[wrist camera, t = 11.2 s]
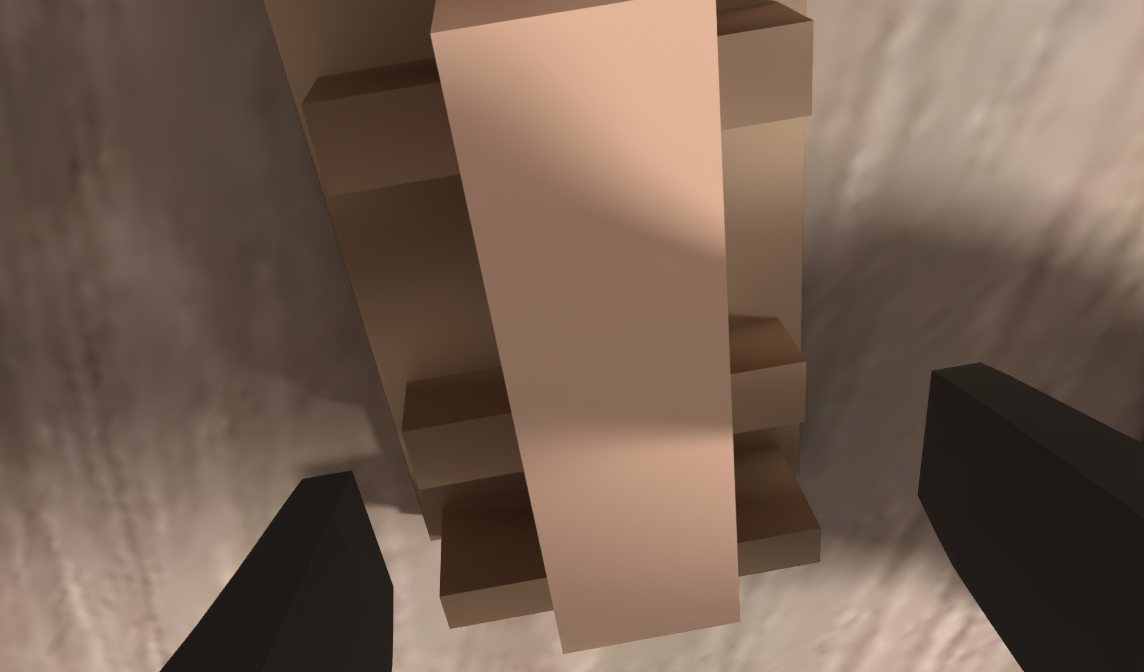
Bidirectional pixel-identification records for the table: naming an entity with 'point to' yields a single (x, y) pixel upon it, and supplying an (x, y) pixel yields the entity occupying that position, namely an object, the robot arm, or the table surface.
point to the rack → (458, 298)
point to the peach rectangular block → (606, 294)
